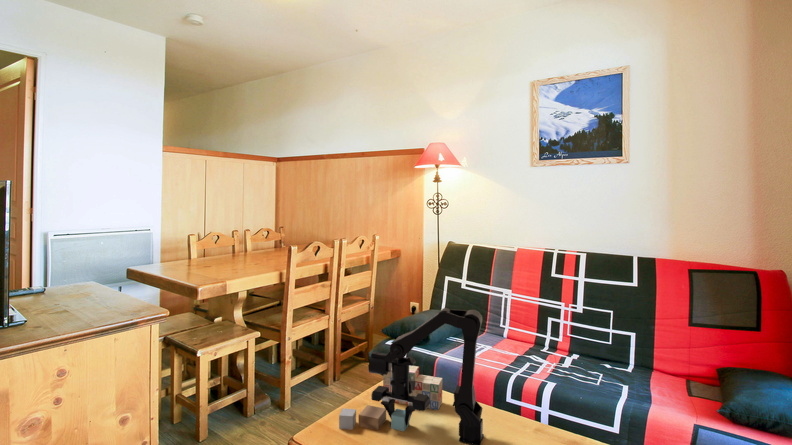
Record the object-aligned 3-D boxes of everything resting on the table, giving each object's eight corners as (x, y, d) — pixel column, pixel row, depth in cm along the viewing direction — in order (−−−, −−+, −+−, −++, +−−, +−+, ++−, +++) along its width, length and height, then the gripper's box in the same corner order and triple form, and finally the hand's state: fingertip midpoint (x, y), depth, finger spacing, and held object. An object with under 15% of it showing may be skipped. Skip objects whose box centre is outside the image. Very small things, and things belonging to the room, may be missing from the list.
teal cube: (409, 424, 131) (409, 411, 131) (403, 431, 127) (404, 417, 127) (396, 421, 133) (396, 408, 133) (391, 428, 129) (391, 414, 129)
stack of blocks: (442, 402, 147) (442, 369, 146) (438, 410, 141) (438, 376, 140) (388, 393, 154) (388, 361, 154) (382, 400, 148) (382, 367, 148)
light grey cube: (356, 422, 132) (356, 409, 132) (352, 430, 128) (352, 416, 128) (342, 421, 133) (342, 408, 133) (339, 428, 129) (339, 415, 129)
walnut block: (386, 420, 134) (386, 408, 134) (378, 430, 128) (378, 418, 128) (367, 416, 137) (367, 404, 137) (358, 426, 130) (358, 414, 130)
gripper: (435, 371, 133) (435, 417, 134) (385, 363, 141) (384, 406, 141) (424, 385, 123) (424, 434, 124) (370, 375, 130) (370, 421, 131)
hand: (400, 423), depth 130 cm, fingers closed on teal cube, 4 cm apart
